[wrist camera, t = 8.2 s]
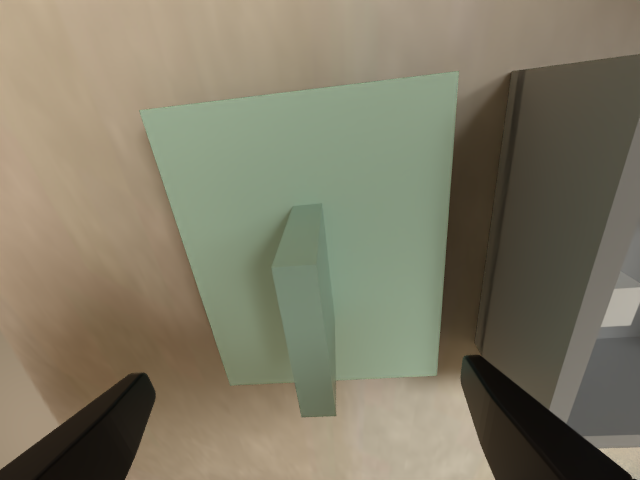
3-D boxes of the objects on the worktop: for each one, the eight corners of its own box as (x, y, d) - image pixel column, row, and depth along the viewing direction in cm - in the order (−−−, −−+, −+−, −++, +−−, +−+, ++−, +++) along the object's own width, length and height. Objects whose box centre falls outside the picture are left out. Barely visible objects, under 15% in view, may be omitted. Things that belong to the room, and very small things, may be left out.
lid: (439, 74, 12) (557, 52, 6) (426, 347, 18) (476, 482, 12) (165, 108, 13) (8, 120, 7) (239, 358, 19) (194, 488, 13)
